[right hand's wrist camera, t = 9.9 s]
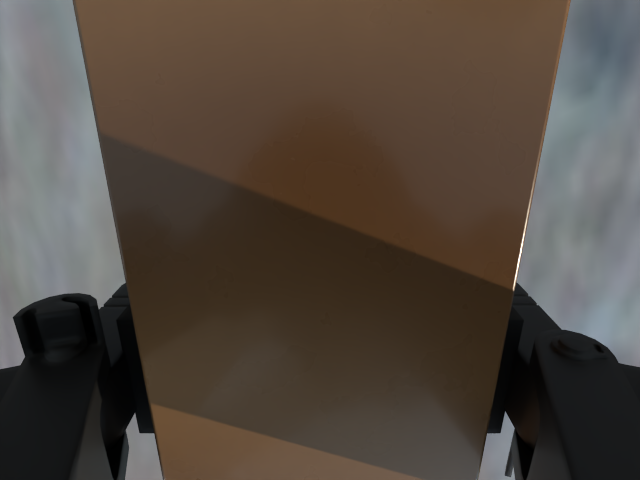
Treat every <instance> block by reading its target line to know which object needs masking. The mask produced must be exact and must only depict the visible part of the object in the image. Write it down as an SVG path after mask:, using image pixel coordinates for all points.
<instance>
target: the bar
mask: <svg viewBox="0 0 640 480" xmlns="http://www.w3.org/2000/svg"><path fill="white" fill-rule="evenodd" d="M570 1H571V0H73V5H74V10H75V15H76V21H77V26H78V31H79V36H80V42H81V47H82V52H83V58H84V63H85V68H86V74H87V79H88V84H89V89H90V95H91V100H92V105H93V111H94V116H95V121H96V126H97V132H98V137H99V142H100V148H101V153H102V158H103V164H104V169H105V174H106V179H107V185H108V190H109V195H110V201H111V206H112V211H113V217H114V222H115V227H116V232H117V238H118V243H119V248H120V254H121V259H122V264H123V269H124V275H125V280H126V285H127V291H128V296H129V301H130V307H131V312H132V317H133V322H134V328H135V333H136V338H137V344H138V349H139V354H140V360H141V365H142V370H143V375H144V381H145V386H146V391H147V397H148V402H149V407H150V412H151V418H152V423H153V428H154V434H155V439H156V444H157V450H158V455H159V460H160V465H161V471H162V476H163V480H478V477H479V472H480V467H481V461H482V456H483V451H484V446H485V441H486V436H487V430H488V425H489V420H490V415H491V410H492V405H493V399H494V394H495V389H496V384H497V379H498V373H499V368H500V363H501V358H502V353H503V348H504V342H505V337H506V332H507V327H508V322H509V317H510V311H511V306H512V301H513V296H514V291H515V286H516V280H517V275H518V270H519V265H520V260H521V254H522V249H523V244H524V239H525V234H526V229H527V223H528V218H529V213H530V208H531V203H532V198H533V192H534V187H535V182H536V177H537V172H538V166H539V161H540V156H541V151H542V146H543V141H544V135H545V130H546V125H547V120H548V115H549V110H550V104H551V99H552V94H553V89H554V84H555V78H556V73H557V68H558V63H559V58H560V53H561V47H562V42H563V37H564V32H565V27H566V22H567V16H568V11H569V6H570Z"/></svg>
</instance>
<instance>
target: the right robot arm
mask: <svg viewBox="0 0 640 480" xmlns="http://www.w3.org/2000/svg"><path fill="white" fill-rule="evenodd" d="M13 319H14V322H15V326H16V329H17V332H18V335H19V338H20V342H21V345H22V348H23V351H24V354H25V358H24V360H23V362H22V364H21V365H20V366H15V367H10V368H5V369H0V480H125V474H126V466H127V459H128V451H129V445H128V438H127V434H126V428H127V426H128V424H129V422H130V421H131V419H132V417H133V415H134V413H135V414H136V418H137V423H138V428H139V433H154V428H153V423H152V418H151V412H150V407H149V402H148V397H147V391H146V386H145V381H144V375H143V370H142V365H141V360H140V354H139V349H138V344H137V338H136V333H135V328H134V322H133V317H132V312H131V307H130V301H129V296H128V291H127V285H126V283H125V284H123V285H122V286H121V287H120V288H119V289H118V290H117V291H116V292H115V293H114V294H113V295H112V298H110V299H109V300H108V301H107V302H106V303H105V304H104V307H101V308H100V309H98V305H97V300H96V299H95V298H94V297H92V296H91V295H87V294H81V293H74V294H62V295H57V296H52V297H48V298H45V299H42V300H40V301H37V302H34V303H32V304H30V305H28V306H27V307H25V308H23V309H21V310H20V311H19V312H18V313H17V314H16V315H15V316H14V317H13ZM505 411H506V413H507V415H508V417H509V418H510V420H511V422H512V424H513V426H514V427H515V429H514V434H513V438H512V443H511V447H510V452H509V456H508V461H507V465H506V471H505V476H509V477H511V474H512V470H513V468H514V473H515V480H640V367H635V366H630V365H624V364H620V363H618V361H617V359H616V357H615V356H614V355H613V353H612V352H611V351H610V350H609V349H608V348H607V347H606V346H604V345H603V344H601V343H600V342H598V341H597V340H595V339H592V338H590V337H588V336H585V335H583V334H580V333H576V332H572V331H568V330H561V329H560V327H559V326H558V325H557V324H556V323H555V322H554V321H553V320H552V319H551V318H550V317H549V316H548V315H547V314H546V313H545V312H544V311H543V309H542V308H541V307H540V306H539V305H537V303H536V302H535V301H534V300H533V299H532V298H531V297H530V296H528V294H527V292H526V291H525V290H524V289H523V288H522V287H521V286H520V285H519V284H518V283H516V286H515V291H514V296H513V301H512V306H511V311H510V317H509V322H508V327H507V332H506V337H505V342H504V348H503V353H502V358H501V363H500V368H499V373H498V379H497V384H496V389H495V394H494V399H493V405H492V410H491V415H490V420H489V425H488V430H487V433H501V428H502V423H503V418H504V414H505Z"/></svg>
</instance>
